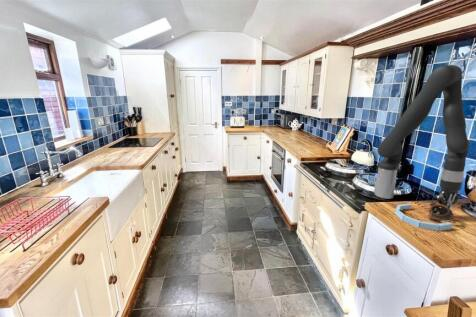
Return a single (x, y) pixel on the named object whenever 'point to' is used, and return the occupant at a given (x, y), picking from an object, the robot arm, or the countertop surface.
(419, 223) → the collar
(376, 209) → the countertop surface
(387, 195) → the robot arm
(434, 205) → the pottery mug
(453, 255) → the countertop surface
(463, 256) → the countertop surface
